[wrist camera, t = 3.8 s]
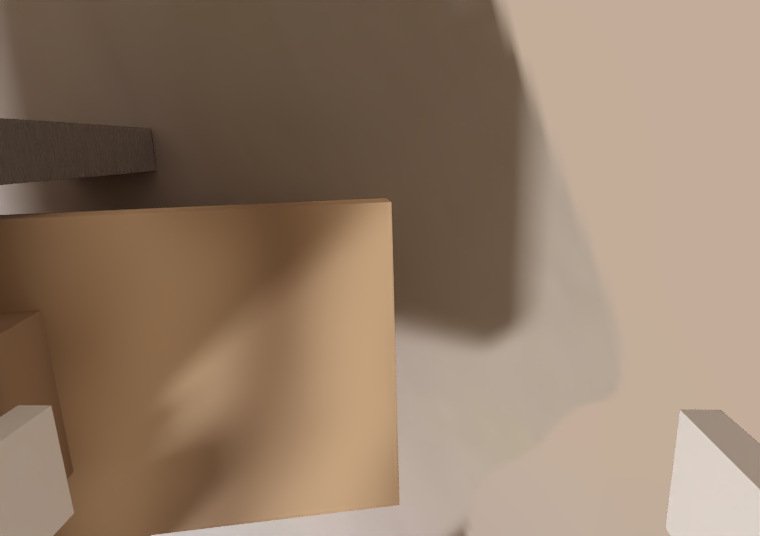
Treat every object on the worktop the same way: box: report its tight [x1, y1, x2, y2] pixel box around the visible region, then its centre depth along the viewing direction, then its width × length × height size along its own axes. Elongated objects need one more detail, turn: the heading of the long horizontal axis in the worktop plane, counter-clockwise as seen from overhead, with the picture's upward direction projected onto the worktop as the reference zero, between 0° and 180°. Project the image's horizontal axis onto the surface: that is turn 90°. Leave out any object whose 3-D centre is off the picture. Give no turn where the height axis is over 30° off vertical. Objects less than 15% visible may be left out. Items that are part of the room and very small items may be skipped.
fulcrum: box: [0, 118, 157, 536], centre depth 16 cm, size 4×15×11 cm, turn 2°
